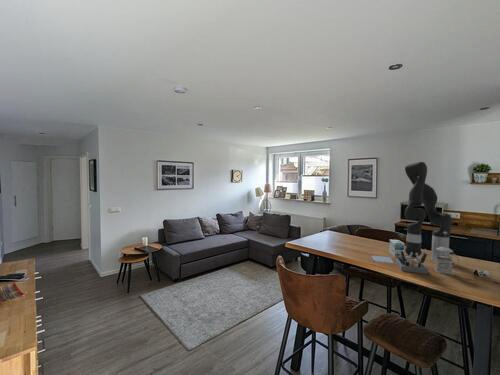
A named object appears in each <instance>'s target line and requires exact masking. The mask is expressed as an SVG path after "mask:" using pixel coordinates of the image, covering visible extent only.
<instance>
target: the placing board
mask: <svg viewBox="0 0 500 375" xmlns="http://www.w3.org/2000/svg"><path fill="white" fill-rule="evenodd" d="M371 258H372V261H373V262H382V263H390V264H394V261H393V260H392V258H391V256H390V257H388V256H380V255H371Z"/></svg>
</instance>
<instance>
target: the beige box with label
mask: <svg viewBox="0 0 500 375" xmlns="http://www.w3.org/2000/svg"><path fill="white" fill-rule="evenodd" d="M409 266H412V267H418V261H417V260H416V258H415V259H410V260H409Z"/></svg>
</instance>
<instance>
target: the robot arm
mask: <svg viewBox="0 0 500 375" xmlns="http://www.w3.org/2000/svg"><path fill="white" fill-rule="evenodd" d="M404 170H405V174H406V176H407V178H408V179H409V180H410V182H411V184H412V185H413V186H412V187H411V188H410V191H409V194H408V204H407V206H406V209H405V210H404V213H403V214H404V217H405V219H406V220H409V221H410V220H412V221H417V222H413V223H407V231H406V233H407V234H406V243H405V250H403V251H402V250H400V252H401V256H402V257H401V258H402V259H403V260H404V261H406V266H409V260H410V258H411V257H414V258H415V259H416V260H417V261H418V267H420V263H423V264H424V263H425V261H426V258H427V255H428V254H427V253H426V252H423V251H422V242H423V241H422V226H423V223H424V221H425V218H426V215H427V217H428V219H429V221H430V223H431V224H432V225H433V226H437V227H440V228H439V229H438V230H437V229H436V230H433V231H432V236H431V237H432V238H431V255H430V258H431V261H435V262H436V257H437V255H444V252H441V251H438V250H436V248H439V247H444V246H445V247H446V248H449V247H450V235H451V230H452V223H453V218H452V216H451V215H450V214H448V213H444V212H438V210H437V208H436V205H437V202H438V195H437V193H436V191H435V189H434V187H432V186H430V185H429V184H428V183H426V180H427V175H428V166H427V165H426V163H425V161H417V162H414V163H413V162H412V163H409V164H406V165H405V166H404ZM422 205H423V206H424V209H423V208H416V207H421V206H422ZM425 210H426V211H425ZM443 232H447V234H446V235H445V234H444V233H443ZM449 249H450V248H449ZM405 253H406V254H405ZM404 254H405V255H407V257H406V259H405V255H404ZM420 255H421V258H420ZM445 256H450V257H451V253H446V252H445ZM443 260H446V259H443ZM446 261H448V260H446Z"/></svg>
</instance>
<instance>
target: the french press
mask: <svg viewBox="0 0 500 375" xmlns="http://www.w3.org/2000/svg"><path fill="white" fill-rule="evenodd" d="M443 233H444V234H445V235H446V234H447V232H443ZM436 250H438V251H441V252H444V255H437V257H436V261H435V268H434V271H435V272H437V273H440V274H444V275H451V276H454V275H455V274H454V273H453V267H456V266H457V265H458V264H459V262H460V259H459V257H458V255H457V254H455V253H454V250H452V249H451V248H446V247H445V246H444V247H439V248H436ZM445 252H446V253H450V254H451V255H450V256H445ZM453 256H455V257H456V258H457V260H458V261H457V262H456V263H454V264H453V259H452V257H453ZM443 259H446V260H448V261H446V260H443Z"/></svg>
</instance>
